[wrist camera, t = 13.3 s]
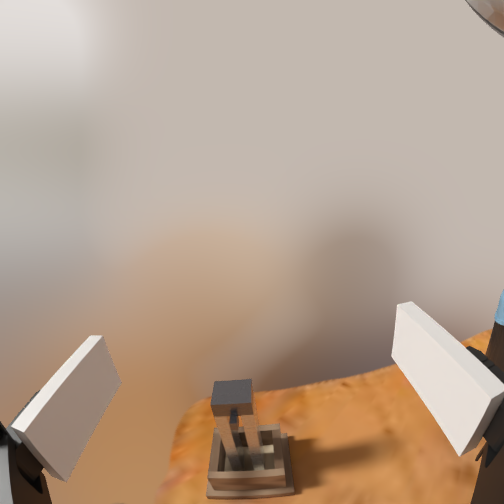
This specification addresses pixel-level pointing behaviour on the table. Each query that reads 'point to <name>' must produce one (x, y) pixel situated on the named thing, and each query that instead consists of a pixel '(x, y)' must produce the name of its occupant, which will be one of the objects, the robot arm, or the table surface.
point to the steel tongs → (226, 416)
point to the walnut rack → (251, 468)
